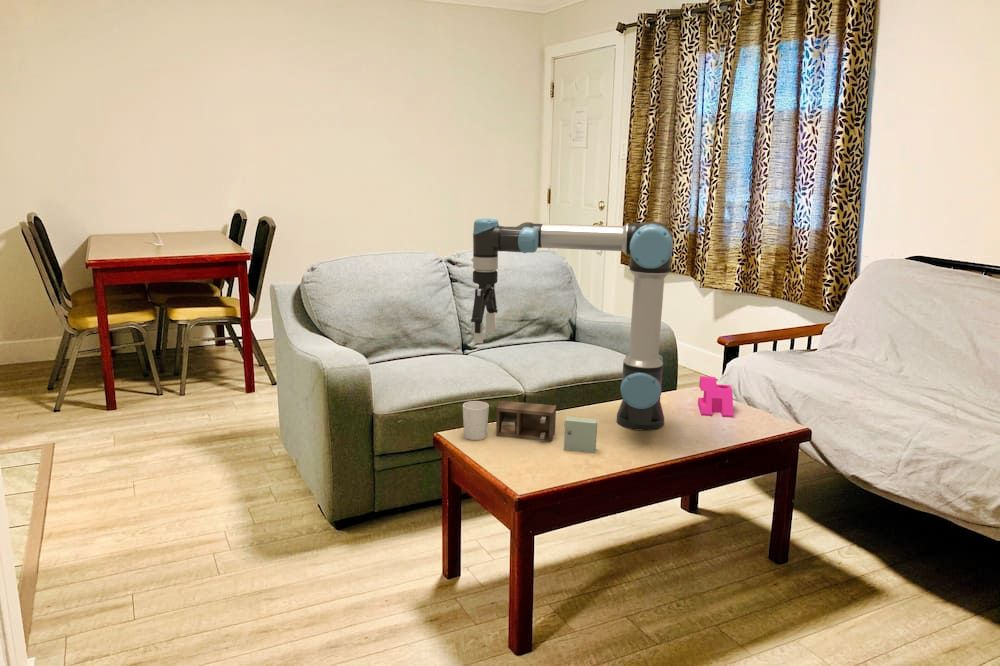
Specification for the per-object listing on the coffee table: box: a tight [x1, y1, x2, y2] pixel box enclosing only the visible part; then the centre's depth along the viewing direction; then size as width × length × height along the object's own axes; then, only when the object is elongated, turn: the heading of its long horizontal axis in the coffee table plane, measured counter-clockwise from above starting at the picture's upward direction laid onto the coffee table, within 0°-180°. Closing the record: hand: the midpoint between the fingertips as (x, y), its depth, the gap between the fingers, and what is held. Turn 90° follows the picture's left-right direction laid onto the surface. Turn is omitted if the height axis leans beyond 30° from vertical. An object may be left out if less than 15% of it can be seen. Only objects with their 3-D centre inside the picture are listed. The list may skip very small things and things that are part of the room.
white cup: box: [462, 400, 490, 441], centre depth 231 cm, size 8×8×10 cm
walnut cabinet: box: [495, 400, 557, 442], centre depth 232 cm, size 17×10×9 cm, turn 77°
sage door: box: [563, 416, 598, 454], centre depth 222 cm, size 9×4×9 cm, turn 77°
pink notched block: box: [697, 375, 734, 419], centre depth 258 cm, size 12×10×10 cm
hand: (484, 338), depth 238 cm, fingers open, 13 cm apart
